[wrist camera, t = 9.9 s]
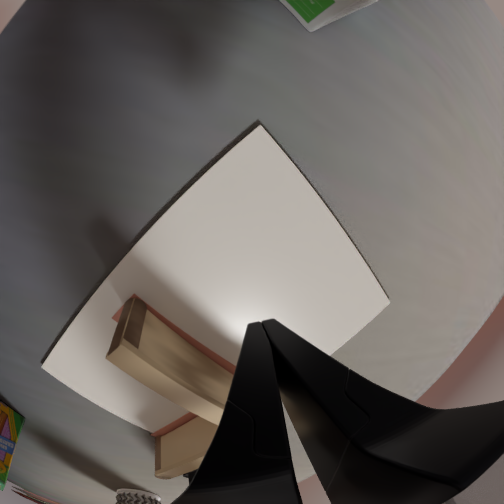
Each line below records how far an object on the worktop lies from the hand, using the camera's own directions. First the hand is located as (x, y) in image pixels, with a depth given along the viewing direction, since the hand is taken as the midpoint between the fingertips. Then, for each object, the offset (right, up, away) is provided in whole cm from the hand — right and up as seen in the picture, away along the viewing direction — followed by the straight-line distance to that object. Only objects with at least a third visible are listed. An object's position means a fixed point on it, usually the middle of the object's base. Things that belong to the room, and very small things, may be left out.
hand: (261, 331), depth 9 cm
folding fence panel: (-5, -4, +10) cm, 12 cm away
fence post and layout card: (-4, -5, +11) cm, 13 cm away
